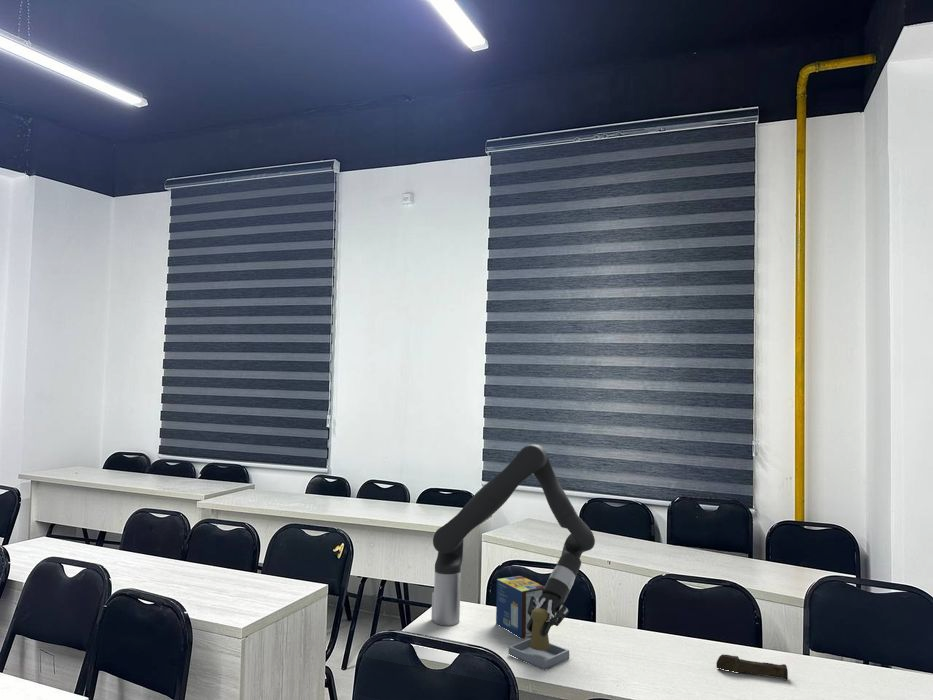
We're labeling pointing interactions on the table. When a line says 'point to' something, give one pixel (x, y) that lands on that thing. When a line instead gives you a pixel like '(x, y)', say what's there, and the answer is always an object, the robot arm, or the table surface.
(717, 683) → the table surface
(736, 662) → the hand tool
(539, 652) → the tray
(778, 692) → the table surface
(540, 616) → the cork
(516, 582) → the protein box
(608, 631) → the table surface
